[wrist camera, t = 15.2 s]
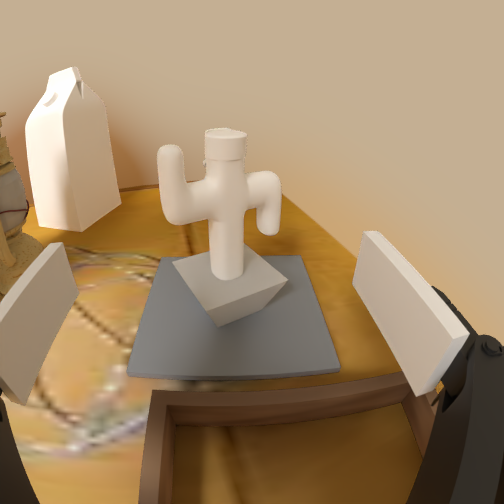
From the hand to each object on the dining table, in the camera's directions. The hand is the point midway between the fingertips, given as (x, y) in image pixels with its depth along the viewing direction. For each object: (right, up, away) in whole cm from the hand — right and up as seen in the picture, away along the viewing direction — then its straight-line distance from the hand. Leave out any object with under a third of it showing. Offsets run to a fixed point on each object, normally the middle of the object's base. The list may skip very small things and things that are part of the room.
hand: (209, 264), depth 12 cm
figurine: (0, -4, +14) cm, 15 cm away
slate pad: (0, -5, +15) cm, 15 cm away
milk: (-29, +7, +33) cm, 45 cm away
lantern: (-28, -3, +17) cm, 33 cm away
